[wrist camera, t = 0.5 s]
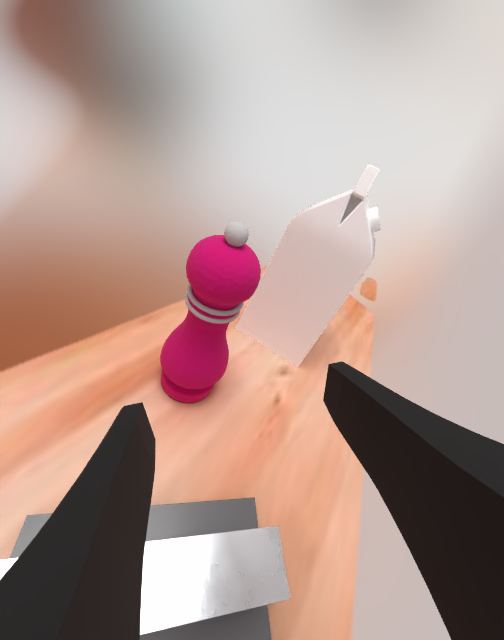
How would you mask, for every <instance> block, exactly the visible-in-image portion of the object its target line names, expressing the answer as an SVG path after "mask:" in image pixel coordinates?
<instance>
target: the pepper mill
mask: <svg viewBox="0 0 504 640" xmlns="http://www.w3.org/2000/svg"><path fill="white" fill-rule="evenodd" d="M224 233H225V234H224V235H225V236H224V235H214V236H210V237H207V238H205V239H203V240H201V241H199V242H198V243H197V244H196V245H195V246H194V248H193V249H192V250H191V252H190V255H189V257H188V260H187V265H186V273H187V278H188V280H189V283H190V284H189V285H188V288H187V294H186V296H185V302H186V305H187V307H188V309H189V310H188V314H187V317H186V318H185V320H184V321H183V322H182V323H181V324H180V325H179V326H178V327H177V328H176V329H175V330H174V331H173V332H172V333H171V334H170V336H169V337H168V338H167V340H166V341H165V343H164V346H163V348H162V351H161V356H160V360H161V366H162V374H161V384H162V387H163V389H164V391H165V392H166V393H167V394H168V395H169V396H170V397H171V398H173V399H175V400H177V401H180V402H185V403H192V402H197V401H200V400H202V399H204V398H205V397H206V396H207V395H208V394H209V393H210V392H211V390H212V388H213V386H214V384H215V383H216V382H217V381H219V380H220V378H221V377H222V376H223V374H224V372H225V370H226V367H227V364H228V355H229V350H228V345H227V340H226V330H227V327H228V324H229V323H230V322H231V321H233V320H235V319H236V318H237V317H238V315H239V313H240V310H241V308H242V306H243V302H244V301H246V300H248V299H249V298H250V297H251V296H252V295H253V294H254V292H255V291H256V289H257V287H258V284H259V281H260V274H261V269H260V264H259V260H258V258H257V256H256V254H255V253H254V252H253V250H252V249H251V248H250V247H248V246H247V245H246V244H245V243H246V242H247V240H248V229H247V228H246V226H245V225H244V224H243V223H241V222H232V223H230V224H229V225H228V226H227V227H226V229H225V232H224Z"/></svg>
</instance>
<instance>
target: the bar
mask: <svg viewBox="0 0 504 640" xmlns="http://www.w3.org/2000/svg"><path fill="white" fill-rule="evenodd" d="M17 559H18V558H13V559H5V560H0V579H1V578H2V577H3V575H4V574H5V573H6V572H7V571H8V569H9V568H10V567H11V566H12V565H13V563H14V562H15V561H16V560H17ZM289 599H290V594H289V588H288V582H287V576H286V569H285V563H284V557H283V551H282V545H281V539H280V533H279V526H272V527H264V528H256V529H248V530H240V531H232V532H224V533H215V534H207V535H199V536H191V537H183V538H175V539H167V540H159V541H151V542H146V543H145V551H144V562H143V577H142V597H141V620H140V635H141V634H145V633H149V632H154V631H158V630H162V629H166V628H171V627H175V626H179V625H183V624H187V623H192V622H196V621H200V620H204V619H209V618H213V617H217V616H221V615H225V614H230V613H234V612H238V611H242V610H247V609H251V608H255V607H259V606H263V605H268V604H272V603H276V602H280V601H285V600H289Z"/></svg>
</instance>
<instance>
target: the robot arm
mask: <svg viewBox="0 0 504 640" xmlns="http://www.w3.org/2000/svg"><path fill="white" fill-rule="evenodd" d="M323 401H324V403H325V405H326V407H327V409H328V411H329V413H330V415H331V417H332V419H333V421H334V423H335V424H336V426H337V428H338V429H339V431H340V432H341V434H342V435H343V437H344V438H345V440H346V441H347V443H348V444H349V446H350V448H351V449H352V451H353V452H354V454H355V455H356V457H357V458H358V460H359V461H360V463H361V464H362V466H363V467H364V469H365V470H366V472H367V473H368V474H369V476H370V478H371V479H372V481H373V483H374V484H375V486H376V488H377V489H378V491H379V493H380V495H381V497H382V498H383V500H384V502H385V504H386V506H387V507H388V509H389V511H390V513H391V515H392V517H393V519H394V521H395V523H396V525H397V526H398V528H399V530H400V532H401V534H402V536H403V538H404V540H405V542H406V544H407V546H408V548H409V549H410V552H411V554H412V556H413V558H414V560H415V562H416V564H417V566H418V568H419V570H420V572H421V574H422V576H423V578H424V580H425V582H426V585H427V586H428V589H429V591H430V593H431V595H432V598H433V600H434V602H435V604H436V606H437V609H438V611H439V613H440V615H441V617H442V619H443V622H444V624H445V626H446V628H447V630H448V633H449V635H450V637H451V640H504V444H502V443H499V442H497V441H494V440H492V439H489V438H487V437H484V436H482V435H480V434H477V433H475V432H473V431H470V430H468V429H466V428H464V427H461V426H459V425H457V424H455V423H453V422H451V421H449V420H446V419H444V418H442V417H440V416H438V415H436V414H434V413H432V412H430V411H428V410H426V409H424V408H422V407H421V406H419V405H417V404H415V403H413V402H411V401H409V400H408V399H405V398H404V397H402V396H400V395H399V394H397V393H395V392H393V391H392V390H390V389H388V388H386V387H384V386H383V385H381V384H379V383H378V382H376V381H375V380H373V379H371V378H370V377H368V376H366V375H365V374H363V373H361V372H360V371H358V370H356V369H354V368H353V367H351V366H349V365H348V364H346V363H344V362H338V363H333V364H329V366H328V373H327V379H326V386H325V393H324V399H323ZM154 473H155V437H154V434H153V431H152V429H151V426H150V423H149V420H148V417H147V414H146V411H145V409H144V406H143V403H137V404H132V405H127V406H124V407H123V408H122V409H121V410H120V412H119V414H118V416H117V417H116V419H115V421H114V422H113V424H112V426H111V427H110V429H109V430H108V432H107V434H106V435H105V437H104V439H103V440H102V442H101V443H100V445H99V447H98V448H97V450H96V451H95V453H94V454H93V456H92V457H91V459H90V460H89V462H88V463H87V465H86V467H85V468H84V470H83V471H82V473H81V474H80V476H79V477H78V478H77V480H76V481H75V483H74V484H73V486H72V487H71V488H70V490H69V491H68V493H67V494H66V495H65V497H64V498H63V500H62V501H61V502H60V504H59V505H58V507H57V508H56V509H55V511H54V512H53V514H52V515H51V516H50V518H49V519H48V520H47V522H46V523H45V524H44V525H43V527H42V528H41V529H40V531H39V532H38V533H37V535H36V536H35V537H34V538H33V540H32V541H31V542H30V543H29V545H28V546H27V547H26V549H25V550H24V551H23V552H22V554H21V555H20V556H19V557H18V559H17V560H16V561H15V562H14V563H13V565H12V566H11V567H10V568H9V569H8V571H7V572H6V573H5V574H4V575H3V577H2V578H1V579H0V640H140V620H141V597H142V577H143V562H144V551H145V543H146V535H147V527H148V520H149V512H150V504H151V497H152V489H153V481H154Z"/></svg>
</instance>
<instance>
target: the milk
mask: <svg viewBox="0 0 504 640" xmlns="http://www.w3.org/2000/svg"><path fill="white" fill-rule="evenodd" d="M379 171H380V169H378V168H376V167H374V166H372V165H368V166H367V167H366V169H365V171H364V173H363V175H362V176H361V178H360V180H359V181H358V183H357V185H356V187H355V189H353V190H350V191H347V192H345V193H342V194H340V195H337V196H334V197H332V198H329V199H326V200H324V201H321V202H319V203H316V204H314V205H312V206H310V207H308V208H306V209H304V210H303V211H301V212H299V213H298V214H296V215H295V217H294V218H293V220H292V221H291V223H290V224H289V225H288V227H287V229H286V231H285V233H284V235H283V237H282V239H281V241H280V242H279V244H278V247H277V248H276V250H275V252H274V254H273V256H272V258H271V260H270V262H269V264H268V266H267V268H266V269H265V271H264V273H263V275H262V277H261V279H260V281H259V284H258V287H257V289H256V291H255V292H254V294H253V295H252V297H251V298H250V300H249V302H248V304H247V306H246V308H245V310H244V312H243V314H242V316H241V318H240V320H239V322H238V324H237V326H236V328H235V329H237V330H238V331H240V332H241V333H243V334H245V335H246V336H248V337H250V338H251V339H253V340H254V341H256V342H258V343H259V344H261V345H262V346H264V347H266V348H267V349H269V350H271V351H272V352H274V353H275V354H277V355H279V356H280V357H282V358H283V359H285V360H287V361H288V362H290V363H292V364H293V365H295V366H296V367H299V365H300V364H301V362H302V361H303V359H304V358H305V357H306V355H307V354H308V352H309V351H310V350H311V348H312V347H313V345H314V344H315V342H316V341H317V340H318V338H319V337H320V335H321V334H322V333H323V331H324V330H325V328H326V327H327V326H328V324H329V323H330V321H331V320H332V318H333V317H334V316H335V314H336V313H337V311H338V310H339V309H340V307H341V306H342V304H343V303H344V302H345V300H346V299H347V297H348V296H349V294H350V293H351V292H352V290H353V289H354V287H355V286H356V285H357V283H358V282H359V280H360V279H361V278H362V276H363V275H364V273H365V272H366V270H367V269H368V267H369V265H370V263H371V261H372V260H373V258H374V252H375V235H374V232H375V231H379V230H381V228H380V219H379V212H378V207H374V208H370V207H369V202H368V197H367V192H368V190H369V189H370V187H371V185H372V184H373V182H374V180H375V178H376V177H377V175H378V173H379Z"/></svg>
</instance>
